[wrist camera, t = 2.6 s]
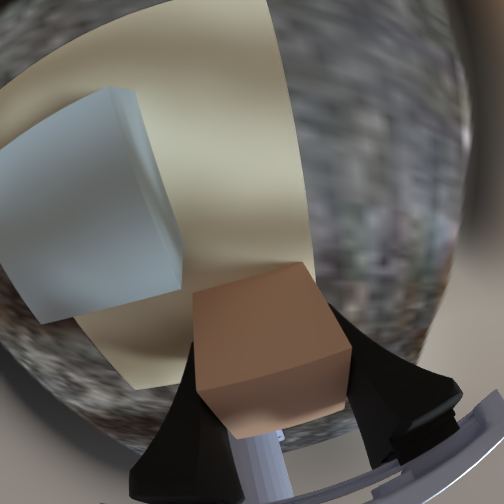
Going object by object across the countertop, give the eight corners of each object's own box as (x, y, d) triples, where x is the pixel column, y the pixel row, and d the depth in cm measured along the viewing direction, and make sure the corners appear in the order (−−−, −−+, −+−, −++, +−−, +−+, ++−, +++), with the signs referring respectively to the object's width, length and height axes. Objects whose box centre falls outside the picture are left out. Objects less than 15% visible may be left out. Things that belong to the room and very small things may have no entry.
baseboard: (314, 334, 16) (338, 386, 13) (136, 377, 16) (132, 429, 13) (256, -6, 7) (285, -51, 4) (-8, 105, 6) (-67, 121, 3)
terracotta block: (310, 333, 15) (344, 408, 11) (223, 358, 15) (236, 439, 10) (303, 261, 12) (351, 347, 8) (192, 292, 12) (196, 391, 8)
